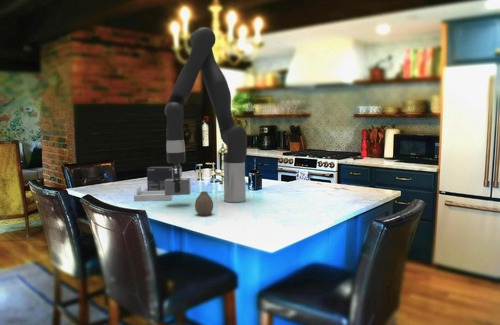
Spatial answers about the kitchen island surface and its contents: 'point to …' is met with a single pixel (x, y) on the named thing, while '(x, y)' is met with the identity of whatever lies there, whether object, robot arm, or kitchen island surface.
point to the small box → (158, 178)
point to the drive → (184, 187)
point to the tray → (151, 195)
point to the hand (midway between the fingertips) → (177, 190)
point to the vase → (204, 204)
